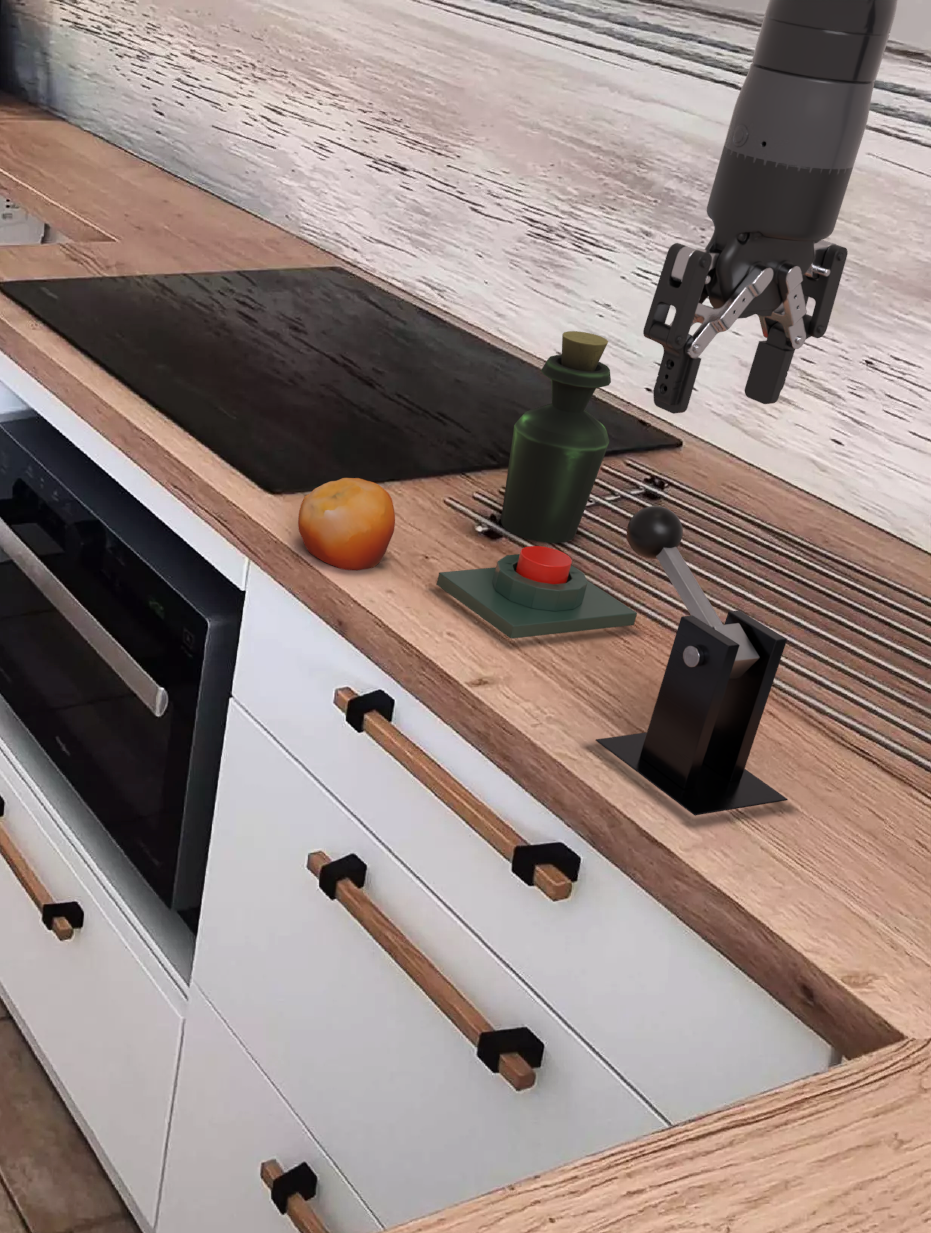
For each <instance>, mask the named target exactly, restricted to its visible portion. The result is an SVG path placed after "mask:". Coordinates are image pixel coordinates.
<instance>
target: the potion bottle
mask: <svg viewBox="0 0 931 1233" xmlns="http://www.w3.org/2000/svg"><path fill="white" fill-rule="evenodd" d="M561 336H562V337H561V354H555V355H551V356H549V357H548V358H547V360H546V361H545V363H544V364H543V366H542V368H541V369H540V372H541V373H542V374H543V375H544V376H545V377H547V378H548V379H550V380H551V381H550V382H551V386H550V388H551V403H548V404H545V405H542V406H539V407H536V408H532V409H529V410H526V411H525V412H523V414H521V416H520V417H519V419H517V421H516V422H515V423H514V425H513V430H512V439H511V444H510V453H509V461H508V467H507V473H506V474H507V475H506V479H505V480H506V481H505V487H504V488H505V489H504V494H503V502H502V509H501V515H500V524H501V525H502V528H504V529H505V530H507V531H508V532H509V533H511V534H513V535H516V536H518V537H520V538H523V539H526V540H531V541H535V542H538V543H539V542H540V543H548V544H549V543H550V544H561V543H568V542H571V541H573V540H574V538H575V537H576V535H577V532H578V529H579V527H580V524H581V521H582V518H583V516H584V512H585V510H586V507H587V505H588V502H589V499H590V496H591V494H592V490H593V488H594V485H595V482H596V480H597V477H598V474H599V472H600V469H601V466H602V463H603V461H604V458H605V455H606V453H607V449H608V446H609V444H610V438H609V435H608V431H607V429H606V426H605V425H604V424H603V423H601V421H599V420H598V419H597V418H596V417H594V415H593V414H591V413H590V412H589V411H587V409H586V408H587V406H588V405H589V403H590V401H591V399H592V397H593V395H594V393H595V391H596V390H597V389H599V388H604V387H608V386H610V384H611V383H612V379H611V369H610V368H609V366H608V365H606V364H604V363H603V362H601V361H600V360H601V358H602V356H603V354H604V352H605V350H606V348H607V346H608V343H609V340H608V339H607V338H605V337H603V336H601V335H598V334H594V333H590V332H587V331H578V330H568V331H564V332H563V333H562V335H561Z"/></svg>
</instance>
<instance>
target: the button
mask: <svg viewBox="0 0 931 1233" xmlns="http://www.w3.org/2000/svg"><path fill="white" fill-rule="evenodd" d="M519 554H520V555H519V560H518V564H517V568H516V572H517V573H518V574H519V575H521V576H522V577H525V578H528V579H530V580H533V581H536V582H541V583H548V584H563V583H566V582H567V579H568V575H569V571H570V567H571V565H572V563H573V562H572V561H573V560H572V558H571V557H570V556H569V555H568V554H566V553H565V552H563V551H560V550H558V549H555V548H552V547H548V546H543V545H542V546H541V545H530V546H524V547H522V548H521V550H520V552H519Z"/></svg>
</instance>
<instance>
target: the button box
mask: <svg viewBox="0 0 931 1233" xmlns="http://www.w3.org/2000/svg"><path fill="white" fill-rule="evenodd" d="M519 555H520V553H517V554H515V553H514V554H507V555H505V556H503V557H501V559H499V560H497V562H496V565H495V566H493V567H485V568H483V567H482V568H473V569H462V570H461V569H460V570H452V571H439V573H438V576H437V580H436V586H438V587H439V588H441V589H442V590H443V591H444V592H446V593H447V594H449V595H450V596H451V597H453V598H454V599H456V600H457V601H458V602H459V603H461V604H462V605H464V606H465V607H467V608H468V609H469V610H470V611H472V612H474V613H475V614H476V615H477V616H479V617H480V618H482V620H484V621H485V622H487V623H488V624H490V625H491V626H493V627H494V628H495V629H497V630H498V631H499V632H501V633H502V634H504V636H506V637H508V639H511V640H512V639H521V638H529V637H539V636H547V635H558V634H565V633H575V632H585V631H593V630H603V629H610V628H612V629H613V628H620V627H628V626H629V627H630V626H635V623H636V619H637V616H638V612H637V611H635V610H634V609H632V608H630V607H629V606H628V605H626V604H625V603H623V602H621V601H620V600H618V599H617V598H615V597H614V596H612V595H610V594H609V593H607V592H606V591H604V590H603V589H601V587H598V586H597V585H596V584H594V583H592V582H591V581H590V580H588V579H587V577H586V574H585V573H584V572H583V571H582V570H580V569H578V568H577V567H576V566H574V565H572V564H571V567H570V571H569V575H568V579H567V582H566V583H563V584H548V583H541V582H536V581H533V580H530V579H528V578H525V577H522V576H521V575H519V574H518V573H517V572H516V568H517V564H518V560H519Z"/></svg>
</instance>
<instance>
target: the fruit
mask: <svg viewBox="0 0 931 1233" xmlns="http://www.w3.org/2000/svg"><path fill="white" fill-rule="evenodd" d="M297 518H298V520H297V527H298V528H297V529H298V532H299V534H300V537H301V539H302V542H303V544H304V547H305V548H306V550H307V551H308V553H309V554H311V555H312V556H314V557H315V558H317V560H320V561H321V562H324V563H325V564H327V565H330V566H332V567H334V568H337V569H340V570H345V571H363V570H369V569H373V568H375V567H376V566H377V565H379V564H380V563H381V562H383V559H384V557H385V555H386V552H387V550H388V547H389V546H390V543H391V540H392V537H393V535H394V532H395V528H396V513H395V507H394V502H393V499H392V497H391V495H390V493H389V492H388V491H387V490H385V488H383V487H382V486H381V485H380V484H377V483H376V482H373V481H370V480H366V479H363V478H361V477H360V478H359V477H355V478H354V477H342V478H340V479H337V480H331V481H328V482H326V483H323V484H321V485H320V486H318V487H315V488H314V489H313V490H311V491H310V492H309V493H308V494H306V495H305V496H304V497H303V499H302V502H301V504H300V507H299V512H298V517H297Z"/></svg>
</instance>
